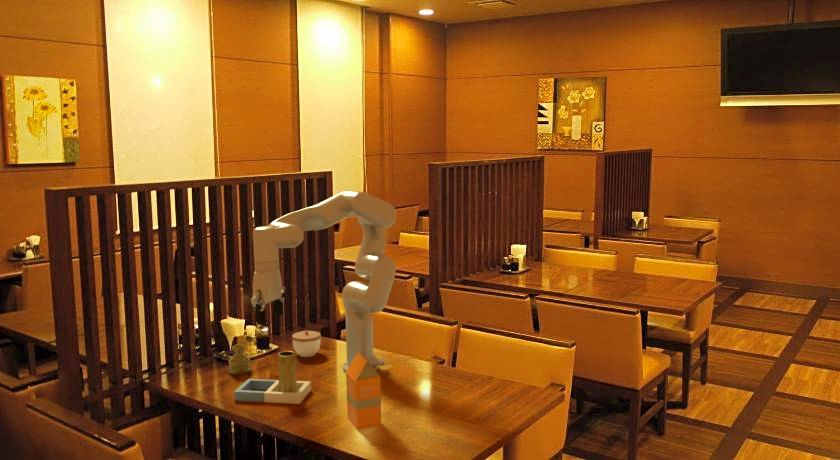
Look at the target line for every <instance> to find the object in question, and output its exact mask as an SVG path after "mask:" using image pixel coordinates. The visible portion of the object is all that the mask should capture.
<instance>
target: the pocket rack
mask: <svg viewBox="0 0 840 460" xmlns="http://www.w3.org/2000/svg"><path fill="white" fill-rule="evenodd" d="M296 382H297V392H296V393H291V392H279V379H264V378H261V379H260V378H247V379H246V380H245V381H244V382H243V383H242V384H240V385H239V387H237V388H236V389H235V390H234V391H233V395H234V401H238V402H251V403H252V402H253V403H257V402H258V403H274V404H275V403H276V404H294V405H296V404H297V405H300V404H301V403H302V402H303V400H304V399H305V398H306V397H307V396H308V394H309V393H310V392H311V391H312V384H311V381H310V380H309V381H307V380H296Z"/></svg>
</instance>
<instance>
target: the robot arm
mask: <svg viewBox="0 0 840 460" xmlns="http://www.w3.org/2000/svg"><path fill="white" fill-rule="evenodd" d="M397 215H398V213H397V210H396V208H395V207H394V205H392V204H391V203H389V202H387V201H385V200H382V199H380V198H377V197H376V196H373V194H372V195H371V194H369V193H368V192H364V191H356V190H343V191H341V192H338V193H337V194H334V195H333V196H330V197H329V198H327V199H324V200H322V201H321V202H319V203H317V204H314V205H312V206H307V207H305V208H302V209H300V210H296V211H292V212H290V213H287V214H285V215H283V216H281V217H279V218H277V219H275V220H273V221H272V222H270V223H269V224H268V225H264V226H258V227H255V228H254V229H253V231H252V240H253V242H252V243H253V257H254V258H253V260H254V261H253V262H254V272H253V277H252V278H253V279H252V280H253V281H252V297H251V298H250V303H251V305H252V308H253V311H254V312H255V322H256V323H257V324H265V323H266V322H267V320H266V318H267V317H266V310H265V307H266V305H267V304H270V303H271V302H273V304H272V305H273V314H274V315H277V316H283V315H284V304H283V303H284V300H285V299H284V297H285V292H286V286H284V285H283V283H282V277H281V275H282V274H281V269H280V260H279V258H280V255H279V249H291V248H292V249H294V248H296V247H298V246H300V245H301V244H302V243H303V241H304V238H305V234H304V232H310V231H320V230H325V229H327V228H330V227H331V226H334V225H336V224H338V223H339V222H341V221H342V220H343V221H344V220H345V219H346V218H348V217H356V219H357V221H358V223H359V224H360V226H361V229H362V234H363V235H362V240H361V245H360V248H359V251H358V255H357V256H356V257H357V258H356V260H355V264H354V272H355V274H356V275H357V276H358V277H360V278H362V279H366V280H369V283H368V282H365V281H358V280H354V281H350V282H348V283H347V284H346V285H345V286H344V287H343V289H342V293H341V296H342V297H341V299H342V304H343V308H344V313H345V315H344V316H345V338H346V339H345V342H346V344H345V345H346V347H345V348H346V362H345V363H343V364H342V370H343V371H344V372H345V373H346V371H347V370H348V368H349V367H350V365H351V363H352V362H353V360H354V358H355V357H356V355H357V353H358V352H359V353H360V354H361V355H362V356H363V357H364V358H365V359H366V360H367V361H368V362H369V363H370V364H371V366H372V367H373V368H374V369H375V371H377V370H378V369H379V366H386V360H384V358H382V357H381V358H378V357H376V356H377V355H376V353H374V324H373V323H374V319H373V315H372V314H377V313H380V312H382V311H383V310H384V308H385V307H386V305H387V303H388V301H389V300H388V299H389V296H390V293H391V290H392V286H393V285H394V280H395V276H396V271H397V268H396V263H395V261H394V259H393V258H391V257H390V256H388V255H386V254H384V253H385V251H386V250H385V249H386V247H387V246H386V245H387V241H388V240H387V232H386V229H387V228H390V227H392V226H393V225H394V224H395V222H396V220H397Z"/></svg>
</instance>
